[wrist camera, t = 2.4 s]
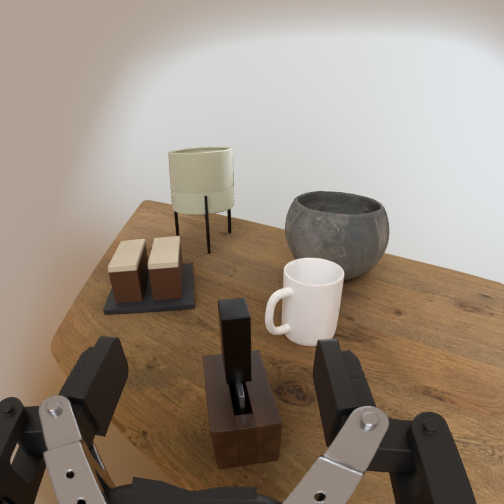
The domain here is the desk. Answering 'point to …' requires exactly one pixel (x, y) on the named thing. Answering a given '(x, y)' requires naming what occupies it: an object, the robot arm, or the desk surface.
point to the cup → (307, 301)
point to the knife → (236, 346)
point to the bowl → (338, 230)
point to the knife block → (242, 416)
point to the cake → (149, 278)
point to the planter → (202, 183)
